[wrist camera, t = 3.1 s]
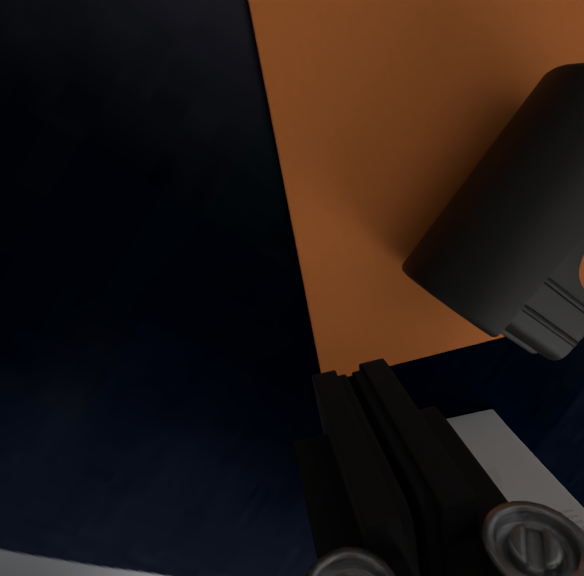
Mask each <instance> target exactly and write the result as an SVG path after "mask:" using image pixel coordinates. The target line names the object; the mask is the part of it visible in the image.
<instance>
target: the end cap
mask: <svg viewBox="0 0 584 576" xmlns="http://www.w3.org/2000/svg"><path fill="white" fill-rule="evenodd" d="M583 256H584V63H574V64H566V65H562V66H558V67H556V68H554V69H552V70H550V71H549V72H547V73H546V74H545V75H544V76H543V77H542V79H541V80H540V81H539V83H538V84H537V85H536V87H535V88H534V89H533V91H532V92H531V93H530V95H529V96H528V97H527V99H526V100H525V101H524V103H523V104H522V105H521V107H520V108H519V109H518V111H517V112H516V113H515V115H514V116H513V117H512V119H511V120H510V121H509V123H508V124H507V125H506V127H505V128H504V129H503V131H502V132H501V133H500V135H499V136H498V137H497V139H496V140H495V141H494V143H493V144H492V145H491V147H490V148H489V149H488V151H487V152H486V153H485V155H484V156H483V157H482V159H481V160H480V161H479V163H478V164H477V165H476V167H475V168H474V169H473V171H472V172H471V173H470V175H469V176H468V177H467V179H466V180H465V181H464V183H463V184H462V185H461V187H460V188H459V189H458V191H457V192H456V193H455V195H454V196H453V197H452V199H451V200H450V201H449V203H448V204H447V205H446V207H445V208H444V209H443V211H442V212H441V213H440V215H439V216H438V217H437V219H436V220H435V221H434V223H433V224H432V225H431V227H430V228H429V229H428V231H427V232H426V233H425V235H424V236H423V237H422V239H421V240H420V241H419V243H418V244H417V245H416V247H415V248H414V249H413V251H412V252H411V253H410V255H409V256H408V257H407V259H406V260H405V261H404V263H403V264H402V270H403V272H404V273H405V274H406V275H407V276H408V277H409V278H411V279H412V280H413V281H414V282H415V283H417V284H418V285H419V286H421V287H422V288H423V289H424V290H426V291H427V292H428V293H430V294H431V295H432V296H434V297H435V298H436V299H438V300H439V301H441V302H442V303H443V304H445V305H446V306H447V307H449V308H450V309H452V310H453V311H454V312H456V313H457V314H459V315H460V316H461V317H463V318H464V319H466V320H467V321H468V322H470V323H471V324H473V325H474V326H476V327H477V328H479V329H480V330H482V331H483V332H485V333H486V334H488V335H489V336H491V337H497V336H499V335H500V334H502V335H504V336H505V337H507V338H508V339H510V340H511V341H513V342H514V343H516V344H517V345H519V346H520V347H522V348H523V349H525V350H526V351H528V352H529V353H532V354H533V353H540V354H541V355H543V356H544V357H546V358H547V359H549V360H559V359H561V358H564V357H565V356H566V355H567V354H568V353H569V352H570V351H571V350H572V349H573V348H574V347H575V346H576V345H577V343H578V342H579V341H580V340H581V339H582V338H583V337H584V288H583V286H582V284H581V282H580V278H579V269H580V264H581V261H582V258H583Z"/></svg>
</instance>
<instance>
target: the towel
mask: <svg viewBox="0 0 584 576" xmlns="http://www.w3.org/2000/svg"><path fill="white" fill-rule="evenodd" d="M248 3H249V8H250V13H251V19H252V24H253V29H254V34H255V39H256V44H257V49H258V54H259V59H260V65H261V70H262V75H263V80H264V85H265V90H266V95H267V100H268V105H269V111H270V116H271V121H272V126H273V131H274V136H275V141H276V146H277V152H278V157H279V162H280V167H281V172H282V177H283V182H284V187H285V192H286V198H287V203H288V208H289V213H290V218H291V223H292V228H293V233H294V238H295V244H296V249H297V254H298V259H299V264H300V269H301V274H302V279H303V284H304V290H305V295H306V300H307V305H308V310H309V315H310V320H311V325H312V330H313V336H314V341H315V346H316V351H317V356H318V361H319V366H320V371H321V373H324V372H328V371H332V370H335V371H336V373H337V375H338V376H339V375H343V374H346V375H347V377H348V376H352V372H355V371H359V364H361V363H365V362H369V361H373V360H377V359H381V358H383V359H384V360H385V361H386V362H387V364H388V365H389V366H391V365H395V364H399V363H403V362H407V361H411V360H415V359H419V358H423V357H427V356H430V355H434V354H438V353H442V352H446V351H450V350H454V349H458V348H462V347H466V346H470V345H474V344H478V343H482V342H485V341H489V340H493V339H497V338H501V337H505V336H504V335H502V334H500V335H499V336H497V337H491V336H489V335H488V334H486V333H485V332H483V331H482V330H480V329H479V328H477V327H476V326H474V325H473V324H471V323H470V322H468V321H467V320H466V319H464V318H463V317H461V316H460V315H459V314H457V313H456V312H454V311H453V310H452V309H450V308H449V307H447V306H446V305H445V304H443V303H442V302H441V301H439V300H438V299H436V298H435V297H434V296H432V295H431V294H430V293H428V292H427V291H426V290H424V289H423V288H422V287H421V286H419V285H418V284H417V283H415V282H414V281H413V280H412V279H411V278H409V277H408V276H407V275H406V274H405V273H404V272H403V270H402V264H403V263H404V261H405V260H406V259H407V257H408V256H409V255H410V253H411V252H412V251H413V249H414V248H415V247H416V245H417V244H418V243H419V241H420V240H421V239H422V237H423V236H424V235H425V233H426V232H427V231H428V229H429V228H430V227H431V225H432V224H433V223H434V221H435V220H436V219H437V217H438V216H439V215H440V213H441V212H442V211H443V209H444V208H445V207H446V205H447V204H448V203H449V201H450V200H451V199H452V197H453V196H454V195H455V193H456V192H457V191H458V189H459V188H460V187H461V185H462V184H463V183H464V181H465V180H466V179H467V177H468V176H469V175H470V173H471V172H472V171H473V169H474V168H475V167H476V165H477V164H478V163H479V161H480V160H481V159H482V157H483V156H484V155H485V153H486V152H487V151H488V149H489V148H490V147H491V145H492V144H493V143H494V141H495V140H496V139H497V137H498V136H499V135H500V133H501V132H502V131H503V129H504V128H505V127H506V125H507V124H508V123H509V121H510V120H511V119H512V117H513V116H514V115H515V113H516V112H517V111H518V109H519V108H520V107H521V105H522V104H523V103H524V101H525V100H526V99H527V97H528V96H529V95H530V93H531V92H532V91H533V89H534V88H535V87H536V85H537V84H538V83H539V81H540V80H541V79H542V77H543V76H544V75H545V74H546V73H547V72H549V71H550V70H552V69H554V68H556V67H558V66H562V65H566V64H574V63H584V0H248ZM579 278H580V282H581V284H582V286H583V288H584V256H583V258H582V261H581V264H580V269H579Z"/></svg>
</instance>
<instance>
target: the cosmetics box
mask: <svg viewBox="0 0 584 576" xmlns="http://www.w3.org/2000/svg"><path fill="white" fill-rule="evenodd" d="M447 421H448V422H449V423H450V425H451V426H452V427H453V429H454V430H455V431H456V433H457V434H458V435H459V437H460V438H461V439H462V441H463V442H464V443H465V445H466V446H467V447H468V449H469V450H470V451H471V453H472V454H473V455H474V457H475V458H476V459H477V461H478V462H479V463H480V465H481V466H482V467H483V469H484V470H485V471H486V472H487V474H488V475H489V476H490V478H491V479H492V480H493V482H494V483H495V484H496V486H497V487H498V488H499V490H500V491H501V492H502V494H503V495H504V496H505V498H506V499H507V500H508V502H511V501H530V502H534V503H539V504H543V505H546V506H548V507H550V508H552V509H554V510H556V511H559V512H561V513H562V514H563V515H565V516H566V517H567V518H569V519H570V520H571V521H573V522H574V523H575V524H576V525H578V526H579V527H580V528H581V529H582V530H583V531H584V508H583V507H582V506H581V505H580V504H579V503H578V502H577V500H576V499H575V498H574V497H573V496H572V495H571V494H570V493H569V492H568V491H567V490H566V489H565V488H564V487H563V486H562V485H561V483H560V482H559V481H558V480H557V479H556V478H555V477H554V476H553V475H552V474H551V473H550V472H549V471H548V470H547V469H546V468H545V467H544V466H543V464H542V463H541V462H540V461H539V460H538V459H537V458H536V457H535V456H534V454H533V453H532V452H531V451H530V450H529V449H528V448H527V447H526V446H525V445H524V444H523V443H522V442H521V440H520V439H519V438H518V437H517V436H516V435H515V434H514V433H513V432H512V431H511V430H510V428H509V427H508V426H507V425H506V424H505V423H504V422H503V421H502V419H501V418H500V417H499V416H498V415H497V414H496V412H495V411H494V410H493V409H490V410H485V411H480V412H476V413H471V414H466V415H462V416H457V417H452V418H448V419H447Z"/></svg>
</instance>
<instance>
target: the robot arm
mask: <svg viewBox="0 0 584 576" xmlns="http://www.w3.org/2000/svg"><path fill="white" fill-rule="evenodd" d="M352 378H353V384H354V390H355V392H354V390H353V388H352V386H351V384H350V382H349V380H348V377H347V375H346V374H343V375H339V376H338V375H337V373H336V371H335V370H332V371H328V372H324V373H320V374H316V375H312V381H313V386H314V391H315V396H316V400H317V405H318V410H319V415H320V420H321V425H322V429H323V435H319V436H315V437H311V438H308V439H304V440H300V441H296V442H293V443H294V449H295V453H296V458H297V463H298V468H299V473H300V477H301V482H302V487H303V492H304V497H305V501H306V506H307V511H308V516H309V521H310V525H311V530H312V535H313V540H314V544H315V549H316V554H317V560H316V562H315V563H314V564H313V565H312V566H311V567H310V569H309V570H308V572H307V574H306V576H584V531H583V530H582V529H581V528H580V527H579V526H578V525H576V524H575V523H574V522H573V521H571V520H570V519H569V518H567V517H566V516H565V515H563V514H562V513H561V512H559V511H556V510H554V509H552V508H550V507H548V506H546V505H543V504H539V503H534V502H530V501H511V502H508V500H507V499H506V498H505V496H504V495H503V494H502V492H501V491H500V490H499V488H498V487H497V486H496V484H495V483H494V482H493V480H492V479H491V478H490V476H489V475H488V474H487V472H486V471H485V470H484V469H483V467H482V466H481V465H480V463H479V462H478V461H477V459H476V458H475V457H474V455H473V454H472V453H471V451H470V450H469V449H468V447H467V446H466V445H465V443H464V442H463V441H462V439H461V438H460V437H459V435H458V434H457V433H456V431H455V430H454V429H453V427H452V426H451V425H450V423H449V422H448V421H447V419H446V418H445V417H444V415H443V414H442V413H441V411H440V410H439V409H438V408H437V407H434V406H432V407H429V408H425V409H421V410H418V408H417V407H416V405H415V404H414V402H413V401H412V399H411V398H410V396H409V395H408V393H407V392H406V390H405V389H404V388H403V386H402V385H401V383H400V382H399V380H398V379H397V377H396V376H395V374H394V373H393V371H392V370H391V368H390V367H389V365H388V364H387V362H386V361H385V360H384V359H383V358H381V359H377V360H373V361H369V362H365V363H361V364H359V371H355V372H352Z"/></svg>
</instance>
